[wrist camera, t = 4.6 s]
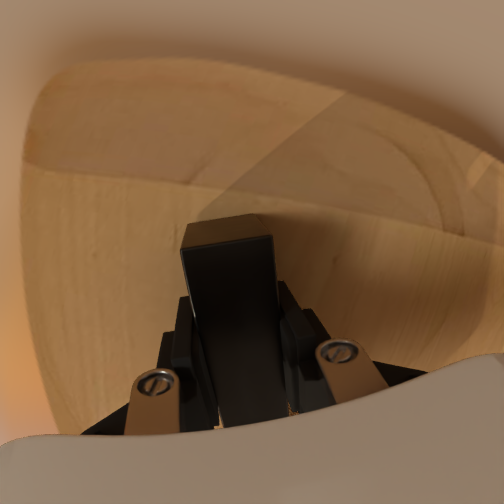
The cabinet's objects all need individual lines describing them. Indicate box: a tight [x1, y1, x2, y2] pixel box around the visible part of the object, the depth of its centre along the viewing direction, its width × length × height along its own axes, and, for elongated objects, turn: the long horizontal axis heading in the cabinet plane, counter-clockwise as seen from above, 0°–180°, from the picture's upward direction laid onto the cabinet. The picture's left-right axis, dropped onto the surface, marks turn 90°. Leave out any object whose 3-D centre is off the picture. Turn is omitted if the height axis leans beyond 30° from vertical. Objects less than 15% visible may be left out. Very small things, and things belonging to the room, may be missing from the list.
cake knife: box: [180, 214, 289, 428], centre depth 11 cm, size 18×2×4 cm, turn 7°
